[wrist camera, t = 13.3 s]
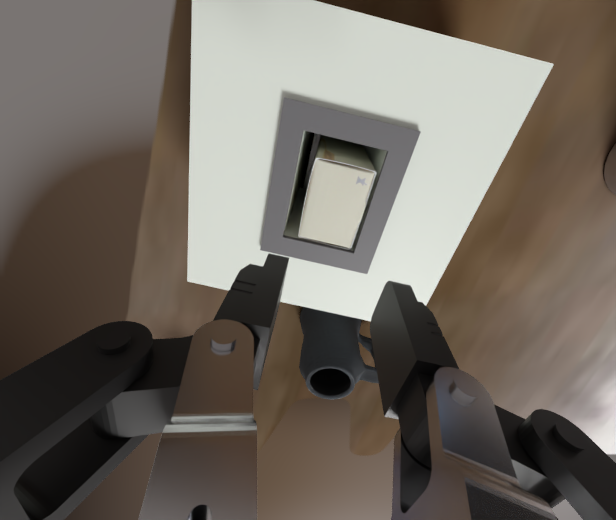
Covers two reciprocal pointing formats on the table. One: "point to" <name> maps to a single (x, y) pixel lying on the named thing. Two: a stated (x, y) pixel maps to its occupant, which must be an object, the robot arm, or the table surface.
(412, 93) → the white block with opening
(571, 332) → the table surface
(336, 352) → the dark curved piece
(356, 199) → the skincare box
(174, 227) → the table surface
